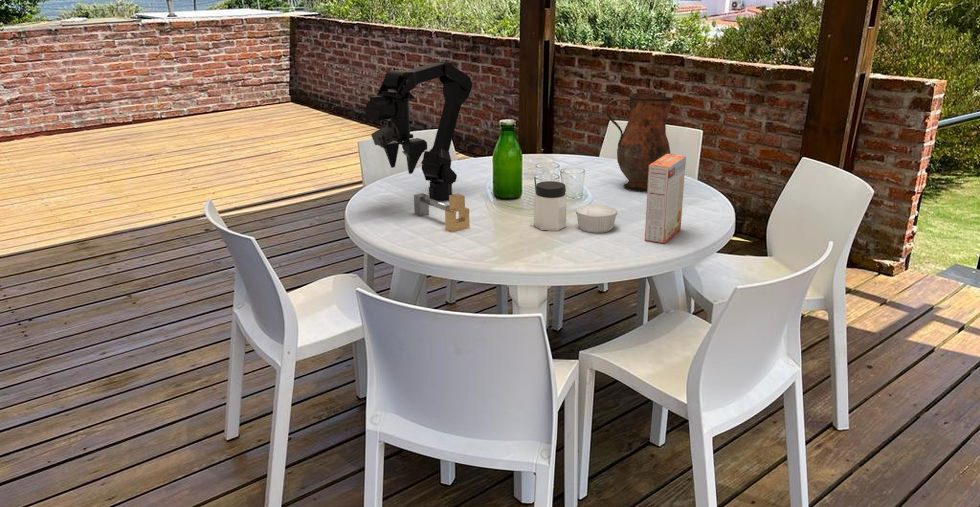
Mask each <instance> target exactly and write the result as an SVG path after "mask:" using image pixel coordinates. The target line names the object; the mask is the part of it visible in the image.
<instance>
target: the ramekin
mask: <svg viewBox="0 0 980 507" xmlns="http://www.w3.org/2000/svg"><path fill="white" fill-rule="evenodd" d="M575 214H576V218H577V225H578V227H579V228H580V230H582V231H583V232H587V233H594V234H595V233H596V234H598V233H599V234H600V233H606V232H610V231H611V230H613V228H614V226H615V221H616V218H617V215H618V209H617V208H615V207H613V206H610V205H607V204H606V205H605V204H585V205H581V206H578V207H577V208H576V209H575Z"/></svg>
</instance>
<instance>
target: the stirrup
mask: <svg viewBox="0 0 980 507" xmlns="http://www.w3.org/2000/svg"><path fill="white" fill-rule="evenodd" d="M448 201H449V202H448V205H449V209H450V210H444V219H445V221H444V222H445V225H444V227H445V230H446V231H448V232H450V233H454V232H458V231H462V230H466V229H469V228H470V208H468V207H466V197H465V195H464V194H461V193H454V194H453V193H452V195H449V200H448ZM457 212H458V218H457Z"/></svg>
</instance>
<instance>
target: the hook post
mask: <svg viewBox="0 0 980 507" xmlns="http://www.w3.org/2000/svg"><path fill="white" fill-rule="evenodd" d="M413 203H414V204H413V206H414V211H413V212H414V215H416V216H417V217H421V218H422V217H425V216H429V215H430V206H432V207H434V208H437V209H440V210H442V211H445V210H450V209H449V204H447V203H444V202H443V201H436V200H433V199H431V198H429V194H426V193H423V192H421V193H417V194H413Z"/></svg>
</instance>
